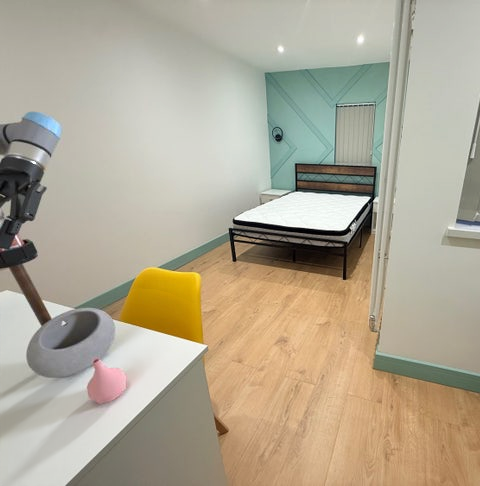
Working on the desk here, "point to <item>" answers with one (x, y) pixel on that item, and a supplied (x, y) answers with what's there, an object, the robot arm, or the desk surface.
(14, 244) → the pill bottle
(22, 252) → the holder
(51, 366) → the planter
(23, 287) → the stand
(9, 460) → the desk surface
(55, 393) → the desk surface
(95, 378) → the pink vase
